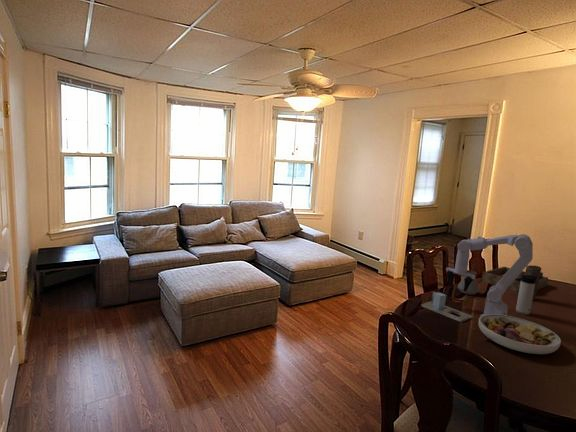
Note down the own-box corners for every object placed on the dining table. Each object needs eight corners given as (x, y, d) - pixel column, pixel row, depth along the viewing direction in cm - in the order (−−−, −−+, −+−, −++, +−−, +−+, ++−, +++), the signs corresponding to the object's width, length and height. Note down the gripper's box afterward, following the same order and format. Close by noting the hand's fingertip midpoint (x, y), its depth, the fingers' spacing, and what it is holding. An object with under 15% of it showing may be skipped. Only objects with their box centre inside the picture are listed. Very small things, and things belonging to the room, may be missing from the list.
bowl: (484, 318, 177) (487, 303, 176) (560, 340, 158) (563, 323, 157) (470, 338, 153) (472, 321, 152) (556, 367, 135) (560, 347, 134)
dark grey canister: (538, 302, 205) (544, 268, 203) (525, 301, 206) (531, 267, 203) (529, 297, 213) (535, 264, 210) (517, 296, 213) (522, 263, 210)
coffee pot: (476, 297, 205) (480, 272, 203) (455, 292, 212) (458, 268, 210) (482, 288, 223) (485, 265, 221) (461, 284, 229) (465, 261, 227)
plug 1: (431, 298, 199) (432, 291, 199) (439, 300, 198) (440, 293, 197) (431, 303, 192) (432, 295, 191) (439, 304, 190) (440, 297, 190)
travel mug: (532, 316, 184) (539, 278, 181) (518, 314, 185) (525, 276, 182) (527, 311, 190) (533, 274, 187) (513, 309, 191) (519, 273, 188)
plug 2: (444, 310, 183) (446, 295, 181) (438, 311, 181) (440, 296, 180) (437, 307, 186) (440, 292, 185) (432, 308, 184) (434, 293, 183)
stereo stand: (546, 287, 235) (548, 277, 234) (527, 295, 215) (529, 284, 214) (502, 276, 256) (503, 266, 255) (481, 282, 237) (483, 272, 236)
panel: (471, 317, 175) (471, 315, 175) (461, 322, 169) (461, 319, 169) (431, 302, 192) (432, 300, 192) (421, 306, 186) (421, 303, 185)
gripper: (479, 266, 182) (475, 291, 184) (452, 258, 193) (448, 283, 195) (473, 267, 177) (469, 293, 179) (445, 260, 189) (441, 284, 191)
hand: (458, 288), depth 187 cm, fingers open, 7 cm apart
